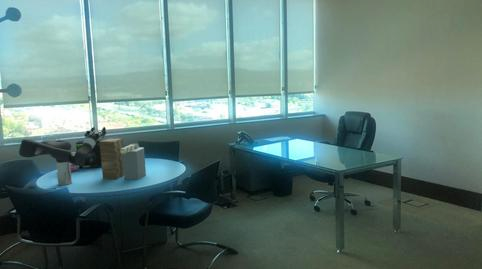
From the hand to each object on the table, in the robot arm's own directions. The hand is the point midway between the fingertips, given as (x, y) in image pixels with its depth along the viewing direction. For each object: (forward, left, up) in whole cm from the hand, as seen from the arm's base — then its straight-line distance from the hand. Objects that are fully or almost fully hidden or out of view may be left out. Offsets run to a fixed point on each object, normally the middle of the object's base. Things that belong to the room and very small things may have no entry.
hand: (99, 127), depth 279 cm
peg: (+15, -15, -20) cm, 29 cm away
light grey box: (+21, -15, -43) cm, 50 cm away
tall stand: (+21, +3, -43) cm, 48 cm away
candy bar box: (+37, +52, -43) cm, 77 cm away
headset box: (+55, +42, -43) cm, 82 cm away
